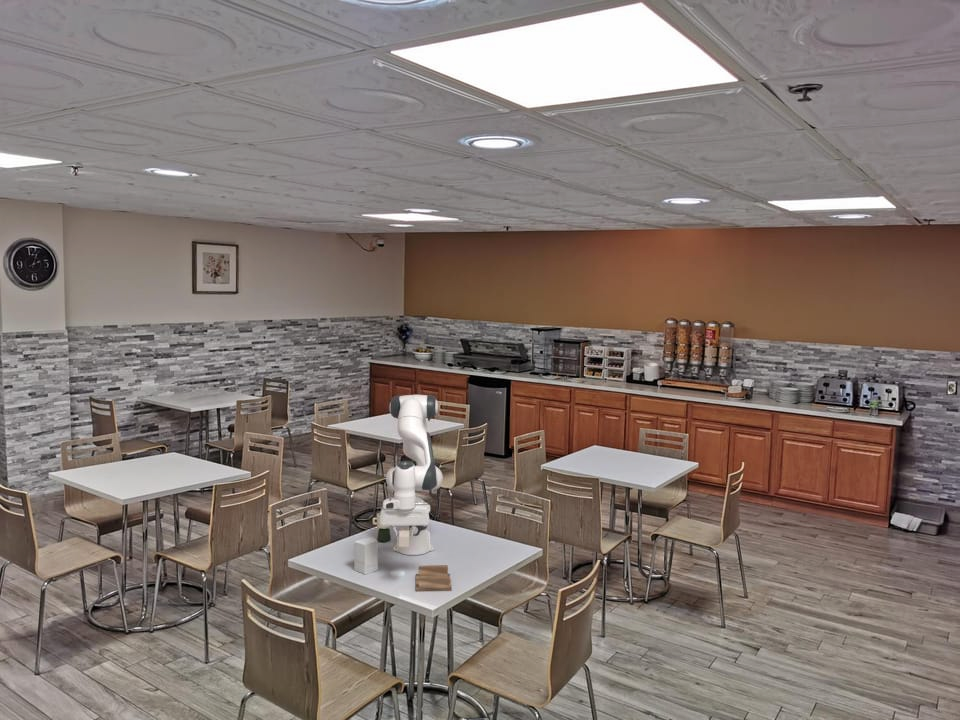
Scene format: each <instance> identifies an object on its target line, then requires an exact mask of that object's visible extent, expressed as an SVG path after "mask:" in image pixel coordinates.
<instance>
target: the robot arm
mask: <svg viewBox="0 0 960 720" xmlns="http://www.w3.org/2000/svg"><path fill="white" fill-rule="evenodd" d="M438 410H439V402H438V400H437V398H436V396H435V395H432V394H431V395H430V394H427V395H425V394H406V395H395V396H393V397H391V400H390V402H389V413H390V415H391V417H393V418H394V419H397V434H398V436H399V437H400V438H401V439H402V444H403V445H402V452H403V454H404V455H405V457H407V458H409V459H411V460H413V461H415V463H416V465H415V463H414V462H412V461H409V460H403V461H399V462H397V463H396V464H395V466H394V467H391V468H389V470H388V471H387V472H386V475H385V481H386V484H387V487H388V488H389V489H390V490H392V491H393V496H392V497H389V498H386V499H384V500H383V502H382V507H381V508H380V512H381V513H380V512H379V513H380V520H379V524H380V525H381V526H391V527H393V528H392V529H393V531H394V532H395V537H396V543H395V545H394V546H393V548H392V551H393V552H397V553H400V554H403V555H406V556H407V555H408V556H418V555H424V554H426V553H428V552H432V551H434V550H435V547H434V545H433V544H432V543H431V532H430V531H429V530H428V526H429V524H430V514H429V513H430V512H431V505H430V503H428V502H425V500H424V499H422V498H420V497H418V496H416V495H417V494H416V491H432V490H433V491H434V490H438V489H439V488H440V487H441V486H442V485H443V480H444V476H443V475H444V474H443V472H442V471H441V470H440V468H439V467H437V466H436V461H435V456H434V449H433V447H434V446H433V443H432V438H431V435H430V433H429V431H428V425H427V422H430V421H431V420H432V419H434V417H435V416H436V415H437V413H438ZM397 526H398V527H400V526H409V547H399V530H398V529H397Z"/></svg>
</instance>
